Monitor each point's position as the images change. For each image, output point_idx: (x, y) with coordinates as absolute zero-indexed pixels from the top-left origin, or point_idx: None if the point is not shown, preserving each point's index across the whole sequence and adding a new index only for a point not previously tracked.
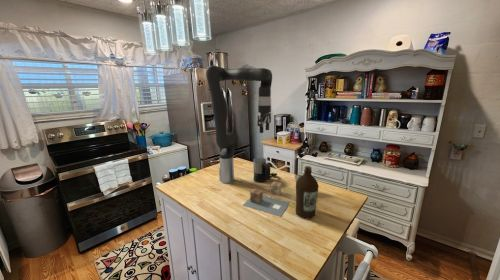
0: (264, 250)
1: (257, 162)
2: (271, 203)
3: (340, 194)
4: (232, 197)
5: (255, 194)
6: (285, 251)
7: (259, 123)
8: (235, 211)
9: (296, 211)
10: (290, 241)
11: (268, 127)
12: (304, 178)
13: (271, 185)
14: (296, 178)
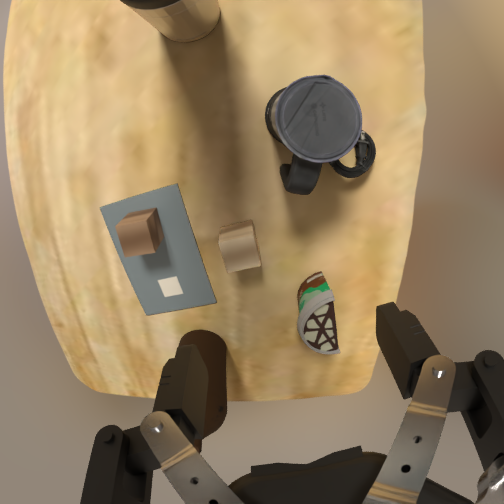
0: (62, 334)
1: (279, 129)
2: (171, 267)
3: (348, 364)
4: (105, 143)
5: (122, 246)
6: (88, 357)
7: (154, 453)
8: (69, 215)
9: (181, 340)
10: (108, 356)
11: (390, 363)
12: None
13: (219, 245)
14: (304, 310)
